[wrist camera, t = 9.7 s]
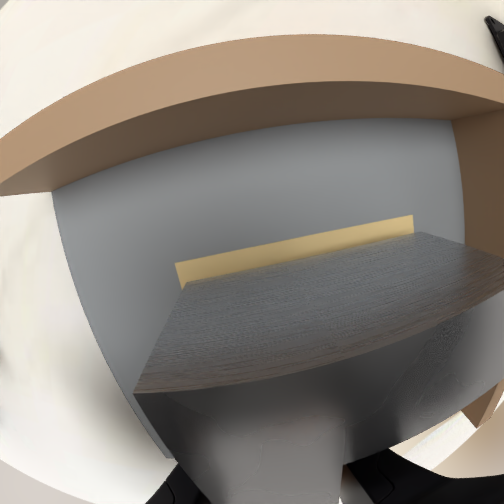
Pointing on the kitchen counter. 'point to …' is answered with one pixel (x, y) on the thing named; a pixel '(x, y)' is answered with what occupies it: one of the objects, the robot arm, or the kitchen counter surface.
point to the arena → (257, 171)
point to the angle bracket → (321, 364)
